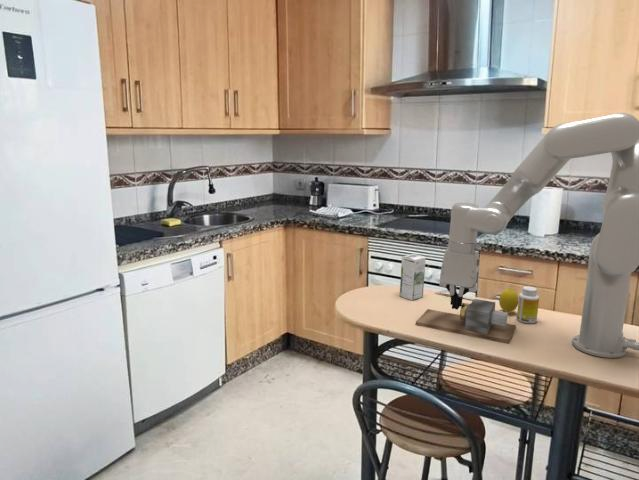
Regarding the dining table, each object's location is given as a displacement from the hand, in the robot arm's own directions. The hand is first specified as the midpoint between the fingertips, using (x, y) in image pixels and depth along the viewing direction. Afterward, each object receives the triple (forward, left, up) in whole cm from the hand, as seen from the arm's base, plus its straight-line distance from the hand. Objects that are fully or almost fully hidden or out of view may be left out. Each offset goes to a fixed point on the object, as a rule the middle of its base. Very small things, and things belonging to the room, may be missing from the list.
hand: (455, 307), depth 144 cm
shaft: (-8, 0, -3) cm, 9 cm away
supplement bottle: (-18, -14, -6) cm, 24 cm away
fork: (+3, -25, -6) cm, 26 cm away
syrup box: (+19, -17, -6) cm, 26 cm away
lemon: (-12, -18, -6) cm, 22 cm away
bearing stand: (-3, 0, -5) cm, 6 cm away
